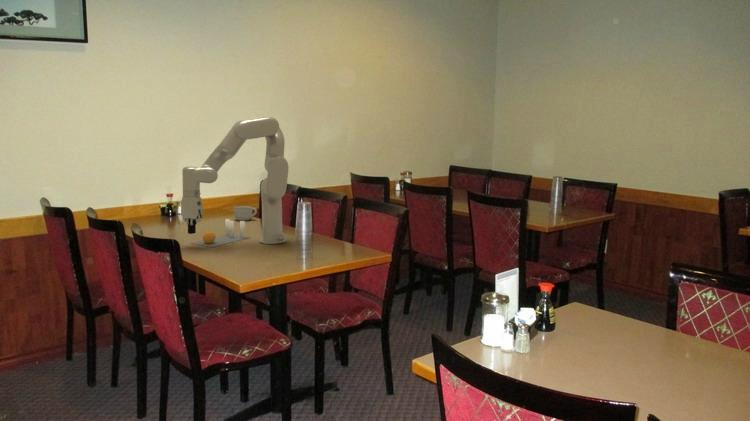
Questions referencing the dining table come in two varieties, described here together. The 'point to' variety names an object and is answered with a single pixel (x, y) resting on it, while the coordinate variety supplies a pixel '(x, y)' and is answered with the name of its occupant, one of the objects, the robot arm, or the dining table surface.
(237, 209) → the teacup
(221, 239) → the gray flat board
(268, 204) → the robot arm
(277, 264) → the dining table surface
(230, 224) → the front pin
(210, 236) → the ball
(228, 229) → the back pin right
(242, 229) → the back pin left
